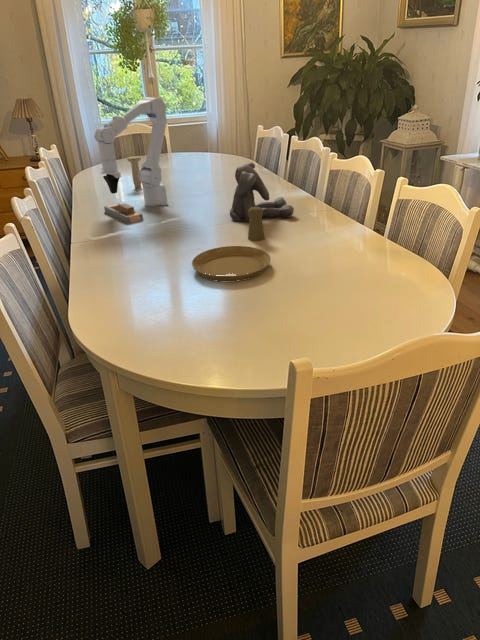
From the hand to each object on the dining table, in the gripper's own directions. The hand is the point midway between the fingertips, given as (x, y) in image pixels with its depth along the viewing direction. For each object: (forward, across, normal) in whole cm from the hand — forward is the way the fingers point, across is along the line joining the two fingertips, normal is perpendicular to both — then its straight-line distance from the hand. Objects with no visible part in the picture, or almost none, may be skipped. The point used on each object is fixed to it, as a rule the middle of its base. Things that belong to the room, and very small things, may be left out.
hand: (114, 193), depth 213 cm
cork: (+10, +64, +24) cm, 69 cm away
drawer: (+8, +10, 0) cm, 13 cm away
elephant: (+10, +44, +42) cm, 62 cm away
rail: (+9, +6, 0) cm, 11 cm away
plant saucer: (+10, +81, +1) cm, 82 cm away
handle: (+10, -37, +28) cm, 47 cm away
